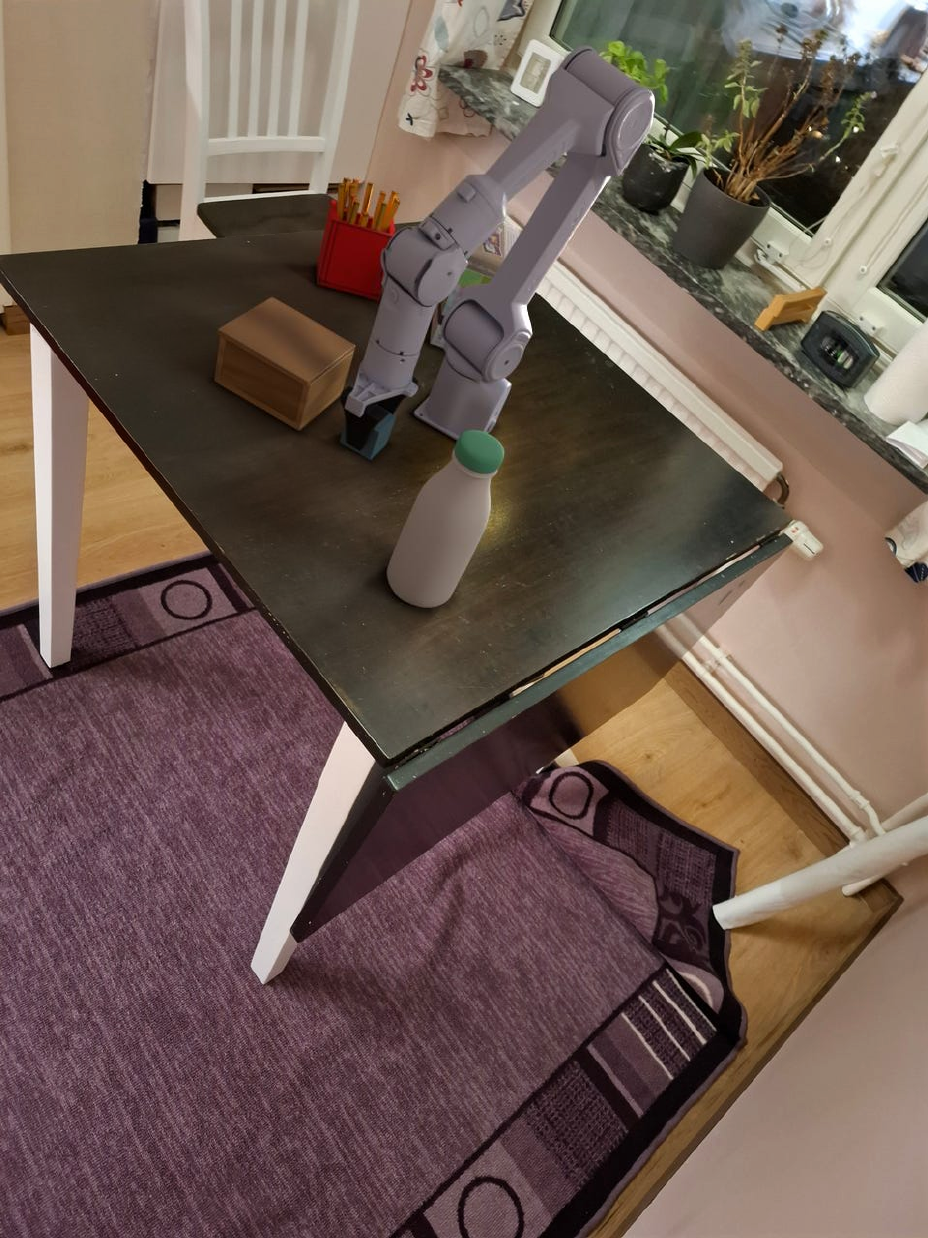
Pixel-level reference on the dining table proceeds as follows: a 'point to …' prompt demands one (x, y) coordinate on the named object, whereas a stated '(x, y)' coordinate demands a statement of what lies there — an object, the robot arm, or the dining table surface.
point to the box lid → (287, 340)
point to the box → (278, 385)
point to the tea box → (476, 273)
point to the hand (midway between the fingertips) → (366, 434)
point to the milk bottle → (446, 523)
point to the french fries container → (356, 241)
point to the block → (374, 437)
